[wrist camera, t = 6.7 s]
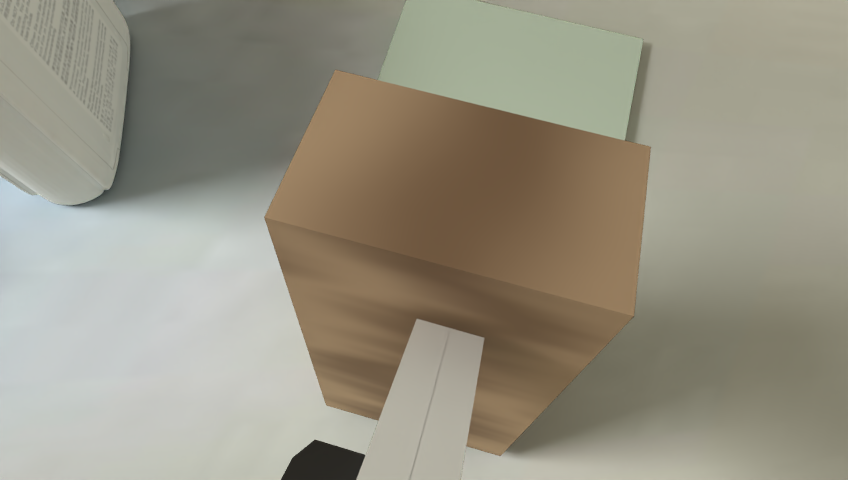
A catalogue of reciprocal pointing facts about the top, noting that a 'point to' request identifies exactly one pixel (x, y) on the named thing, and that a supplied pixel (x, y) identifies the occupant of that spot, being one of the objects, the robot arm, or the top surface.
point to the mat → (516, 63)
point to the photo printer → (62, 96)
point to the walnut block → (456, 245)
